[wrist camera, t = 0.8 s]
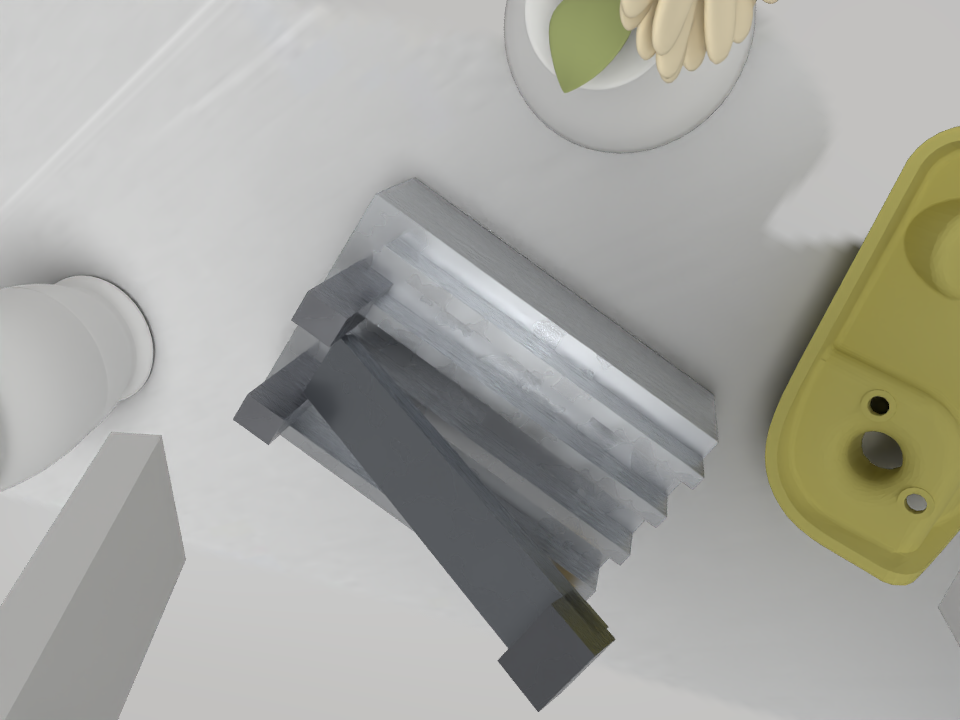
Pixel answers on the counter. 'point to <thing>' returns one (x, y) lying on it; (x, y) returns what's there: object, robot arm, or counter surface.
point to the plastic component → (883, 385)
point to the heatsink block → (497, 381)
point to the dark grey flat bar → (460, 524)
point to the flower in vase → (626, 65)
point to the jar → (64, 367)
